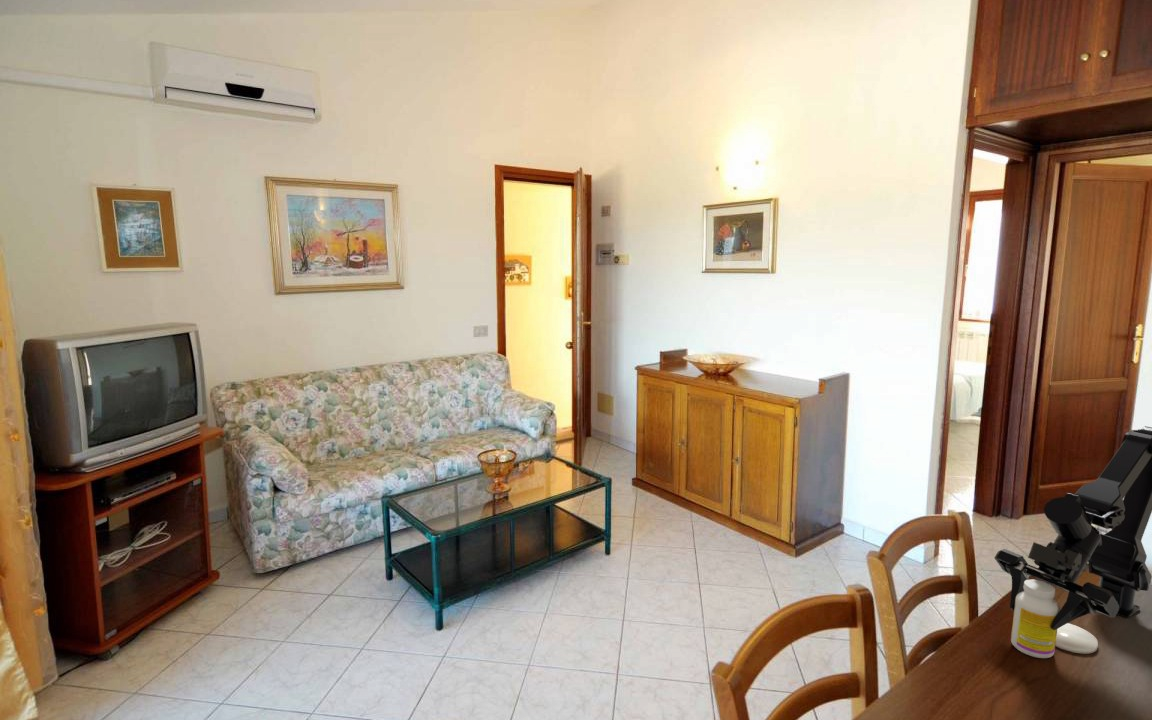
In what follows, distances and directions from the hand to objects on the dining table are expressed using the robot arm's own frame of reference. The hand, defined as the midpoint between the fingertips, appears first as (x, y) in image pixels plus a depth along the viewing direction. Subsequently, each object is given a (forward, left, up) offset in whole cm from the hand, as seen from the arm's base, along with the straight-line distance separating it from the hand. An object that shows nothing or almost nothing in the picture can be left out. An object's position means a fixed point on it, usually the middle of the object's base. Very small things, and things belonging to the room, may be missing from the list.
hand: (1031, 618), depth 114 cm
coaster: (-10, +2, -7) cm, 12 cm away
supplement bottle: (-1, 0, -7) cm, 7 cm away
